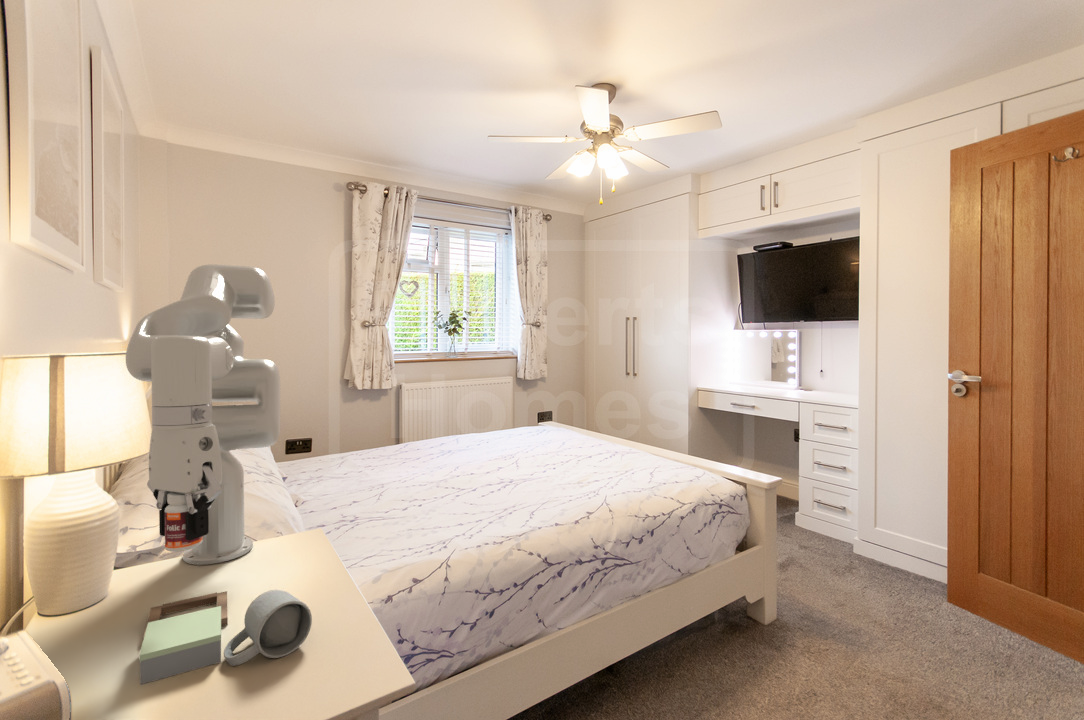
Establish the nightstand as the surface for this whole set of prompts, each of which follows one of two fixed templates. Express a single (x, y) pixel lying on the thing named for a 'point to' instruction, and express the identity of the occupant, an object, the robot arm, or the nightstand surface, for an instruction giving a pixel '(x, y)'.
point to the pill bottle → (177, 523)
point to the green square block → (180, 644)
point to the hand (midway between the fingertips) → (184, 533)
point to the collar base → (190, 607)
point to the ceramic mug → (271, 627)
